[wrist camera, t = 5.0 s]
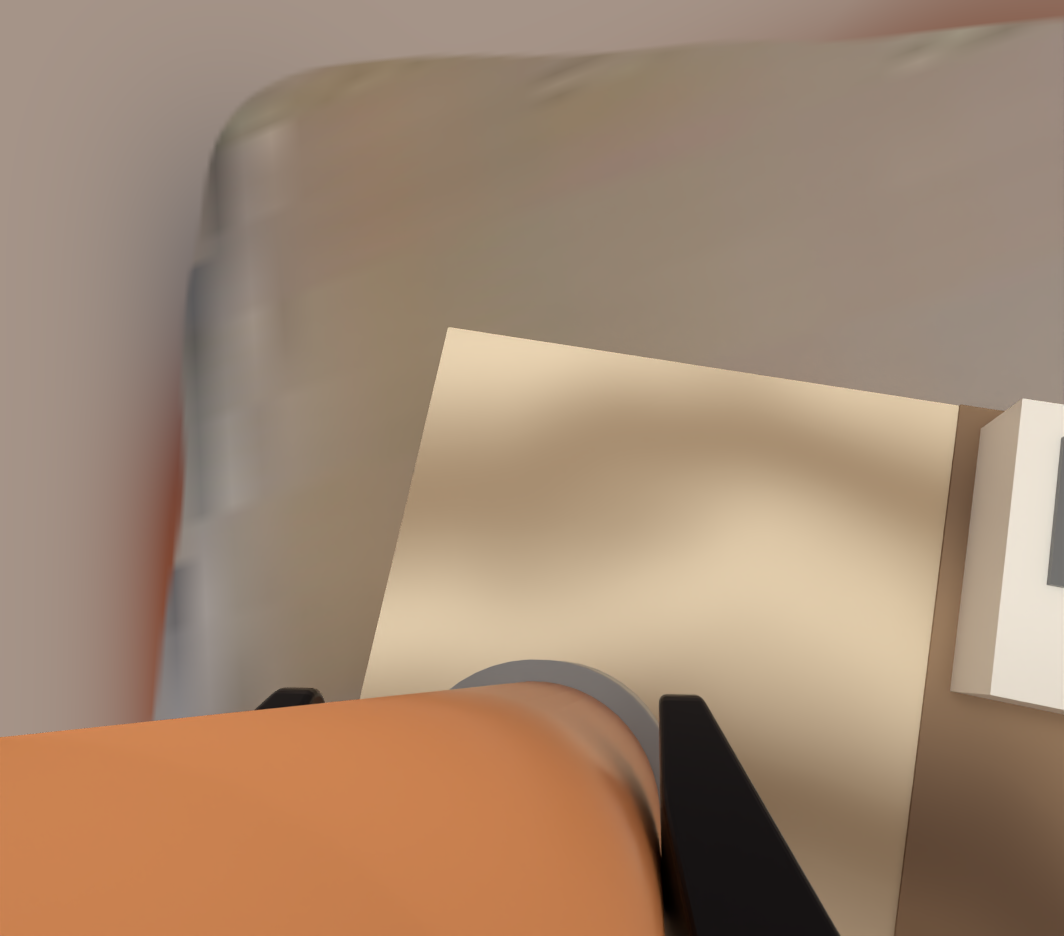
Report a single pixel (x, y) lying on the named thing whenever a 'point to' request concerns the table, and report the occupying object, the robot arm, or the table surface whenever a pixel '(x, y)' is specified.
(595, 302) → the table surface
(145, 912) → the awl
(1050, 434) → the block
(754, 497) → the subfloor board
